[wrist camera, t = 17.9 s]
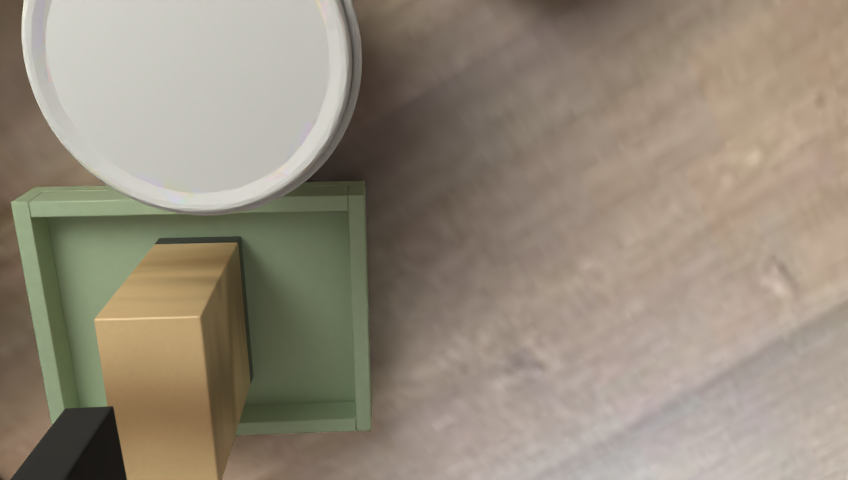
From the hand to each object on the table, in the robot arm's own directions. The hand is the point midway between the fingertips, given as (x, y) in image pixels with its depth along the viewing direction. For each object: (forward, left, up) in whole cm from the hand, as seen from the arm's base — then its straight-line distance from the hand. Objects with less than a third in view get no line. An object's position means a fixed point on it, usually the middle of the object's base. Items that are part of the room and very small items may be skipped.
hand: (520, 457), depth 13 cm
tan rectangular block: (+10, +7, -22) cm, 26 cm away
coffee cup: (+7, -5, -23) cm, 25 cm away
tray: (+10, +7, -23) cm, 26 cm away
